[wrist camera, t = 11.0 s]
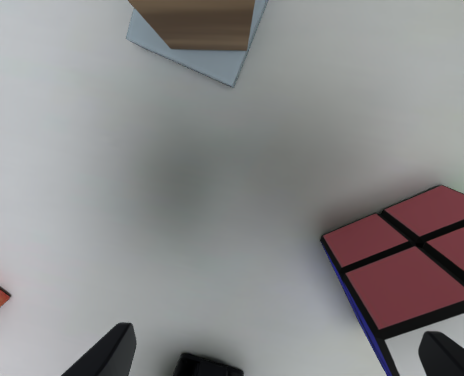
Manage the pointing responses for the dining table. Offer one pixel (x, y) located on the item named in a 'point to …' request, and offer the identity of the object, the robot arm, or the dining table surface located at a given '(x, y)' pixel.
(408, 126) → the dining table surface
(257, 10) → the slab
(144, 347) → the dining table surface
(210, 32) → the pillar
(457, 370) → the robot arm
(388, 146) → the dining table surface
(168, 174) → the dining table surface
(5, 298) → the cracker box
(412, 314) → the puzzle cube
